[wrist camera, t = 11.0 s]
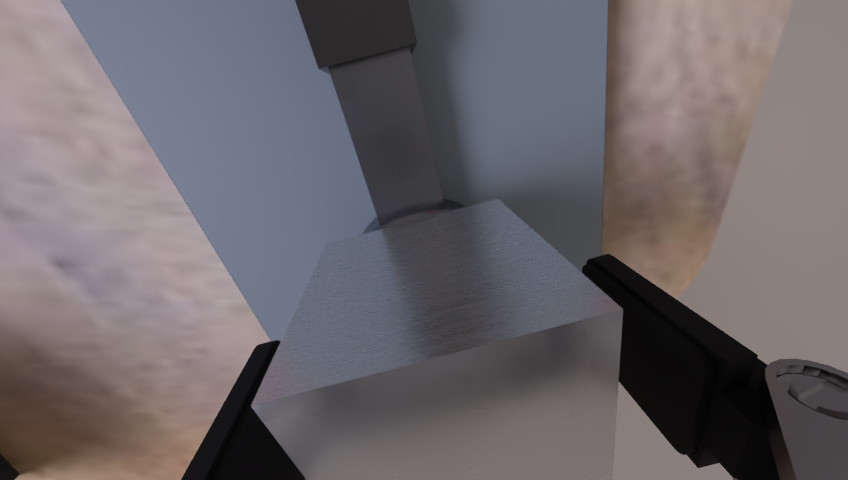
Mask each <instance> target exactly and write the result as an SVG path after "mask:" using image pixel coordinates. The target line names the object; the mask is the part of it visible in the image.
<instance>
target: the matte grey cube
mask: <svg viewBox="0 0 848 480" xmlns="http://www.w3.org/2000/svg"><path fill="white" fill-rule="evenodd" d="M622 320H623V309H622V308H621V307H620V306H619V305H618V304H617V303H616V302H614V301H613V300H612V299H611V298H610V297H609V296H608V295H606V294H605V293H604V292H603V291H602V290H601V289H600V288H599V287H597V286H596V285H595V284H594V283H593V282H592V281H591V280H589V279H588V278H587V277H586V276H585V275H584V274H583V273H582V272H580V271H579V270H578V269H577V268H576V267H575V266H574V265H572V264H571V263H570V262H569V261H568V260H567V259H566V258H565V257H563V256H562V255H561V254H560V253H559V252H558V251H557V250H555V249H554V248H553V247H552V246H551V245H550V244H549V243H548V242H546V241H545V240H544V239H543V238H542V237H541V236H540V235H538V234H537V233H536V232H535V231H534V230H533V229H532V228H531V227H529V226H528V225H527V224H526V223H525V222H524V221H523V220H521V219H520V218H519V217H518V216H517V215H516V214H515V213H513V212H512V211H511V210H510V209H509V208H508V207H507V206H506V205H504V204H503V203H502V202H501V201H500V200H499V199H498V198H497V199H493V200H490V201H486V202H482V203H478V204H475V205H471V206H467V207H463V208H459V209H456V210H452V211H448V212H444V213H440V214H437V215H433V216H429V217H425V218H422V219H418V220H414V221H410V222H406V223H403V224H399V225H395V226H391V227H388V228H384V229H380V230H376V231H372V232H369V233H365V234H361V235H357V236H354V237H350V238H346V239H342V240H338V241H335V242H331V243H327V244H326V245H325V248H324V250H323V252H322V254H321V256H320V258H319V260H318V263H317V265H316V267H315V269H314V271H313V273H312V276H311V278H310V280H309V282H308V284H307V286H306V288H305V291H304V293H303V295H302V297H301V299H300V301H299V303H298V306H297V308H296V310H295V312H294V314H293V316H292V318H291V321H290V323H289V325H288V327H287V329H286V331H285V333H284V336H283V338H282V340H281V342H280V344H279V346H278V348H277V351H276V353H275V355H274V357H273V359H272V361H271V364H270V366H269V368H268V370H267V372H266V374H265V376H264V379H263V381H262V383H261V385H260V387H259V389H258V391H257V394H256V396H255V398H254V400H253V402H252V404H251V407H252V408H253V410H254V411H255V412H256V414H257V415H258V416H259V418H260V419H261V420H262V422H263V423H264V424H265V426H266V427H267V428H268V430H269V431H270V432H271V434H272V435H273V436H274V437H275V439H276V440H277V441H278V443H279V444H280V445H281V447H282V448H283V449H284V451H285V452H286V453H287V455H288V456H289V457H290V459H291V460H292V461H293V463H294V464H295V465H296V467H297V468H298V469H299V470H300V472H301V473H302V474H303V476H304V477H305V478H306V480H612V475H613V459H614V443H615V428H616V427H615V426H616V413H617V412H616V411H617V397H618V396H617V395H618V382H619V366H620V351H621V335H622Z"/></svg>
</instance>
